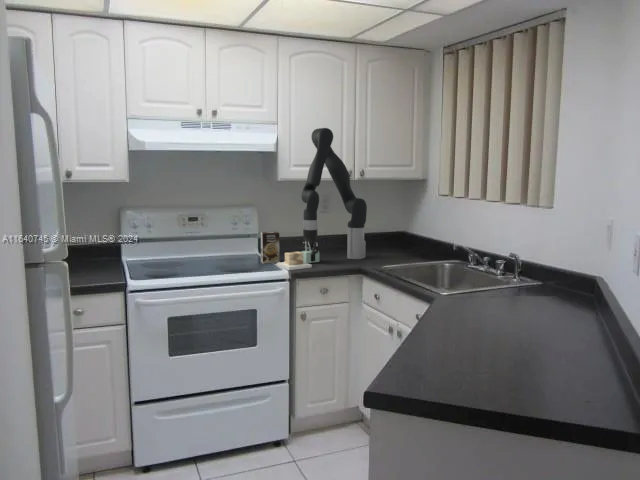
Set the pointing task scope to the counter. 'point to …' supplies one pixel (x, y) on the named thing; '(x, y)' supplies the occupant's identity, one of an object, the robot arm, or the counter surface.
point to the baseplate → (294, 266)
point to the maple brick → (293, 258)
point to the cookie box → (269, 247)
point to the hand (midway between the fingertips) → (310, 260)
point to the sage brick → (309, 257)
